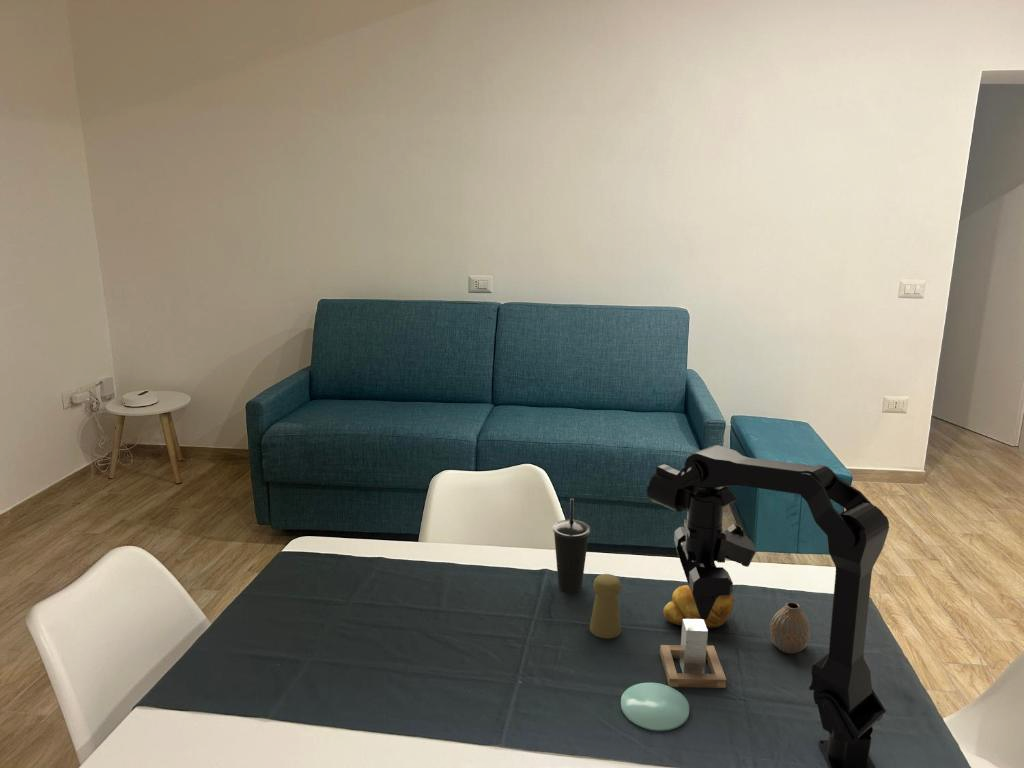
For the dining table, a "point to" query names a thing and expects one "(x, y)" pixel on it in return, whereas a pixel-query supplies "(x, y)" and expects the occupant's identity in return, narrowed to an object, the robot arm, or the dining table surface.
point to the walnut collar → (692, 680)
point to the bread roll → (687, 609)
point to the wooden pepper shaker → (606, 607)
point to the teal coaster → (655, 706)
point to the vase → (790, 629)
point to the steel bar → (693, 646)
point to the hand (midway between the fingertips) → (698, 603)
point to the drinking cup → (570, 552)
